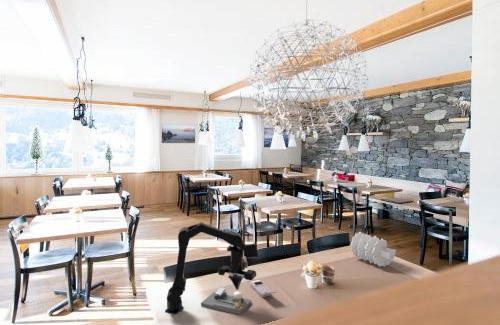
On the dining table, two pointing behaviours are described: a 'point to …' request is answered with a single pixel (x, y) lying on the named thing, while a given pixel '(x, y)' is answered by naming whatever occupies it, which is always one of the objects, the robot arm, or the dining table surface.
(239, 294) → the push button
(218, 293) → the rocker switch
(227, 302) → the control panel
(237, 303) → the wood grain cube
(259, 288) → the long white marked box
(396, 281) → the dining table surface
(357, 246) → the spiral staircase
